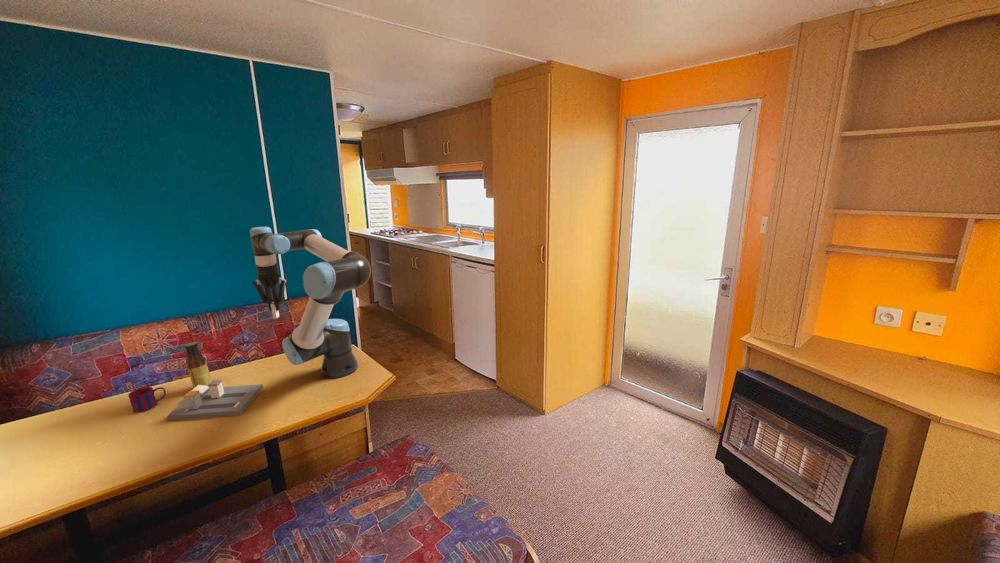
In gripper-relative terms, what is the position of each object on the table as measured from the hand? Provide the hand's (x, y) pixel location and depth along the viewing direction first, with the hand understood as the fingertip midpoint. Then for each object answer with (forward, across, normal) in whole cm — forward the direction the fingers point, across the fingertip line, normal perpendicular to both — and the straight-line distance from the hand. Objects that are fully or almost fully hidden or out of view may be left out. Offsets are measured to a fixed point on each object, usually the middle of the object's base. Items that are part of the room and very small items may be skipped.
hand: (276, 317), depth 166 cm
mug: (+25, +39, +24) cm, 52 cm away
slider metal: (+22, +19, +31) cm, 43 cm away
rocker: (+22, +24, +20) cm, 38 cm away
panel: (+24, +14, +26) cm, 38 cm away
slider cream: (+22, +15, +24) cm, 36 cm away
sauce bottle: (+25, +27, +13) cm, 39 cm away
